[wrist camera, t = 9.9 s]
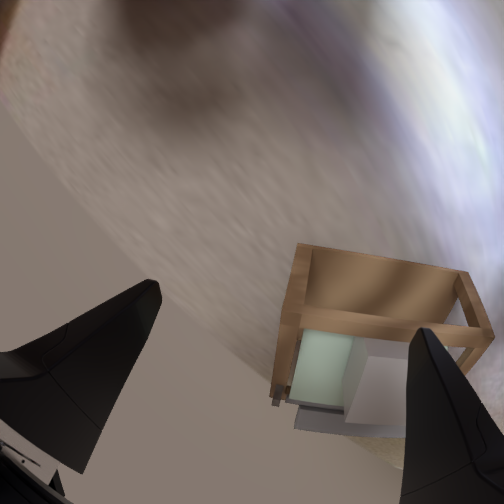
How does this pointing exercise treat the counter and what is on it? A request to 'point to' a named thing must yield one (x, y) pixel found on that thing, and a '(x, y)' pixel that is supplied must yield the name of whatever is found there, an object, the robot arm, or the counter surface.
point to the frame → (375, 305)
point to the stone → (376, 382)
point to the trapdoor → (328, 388)
